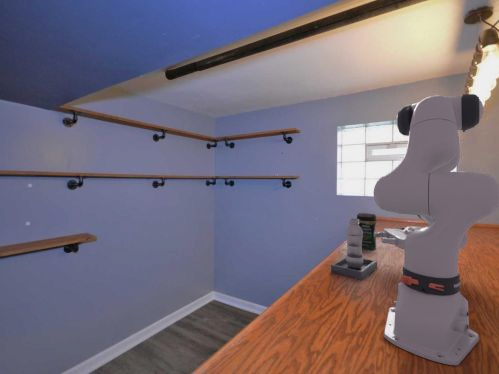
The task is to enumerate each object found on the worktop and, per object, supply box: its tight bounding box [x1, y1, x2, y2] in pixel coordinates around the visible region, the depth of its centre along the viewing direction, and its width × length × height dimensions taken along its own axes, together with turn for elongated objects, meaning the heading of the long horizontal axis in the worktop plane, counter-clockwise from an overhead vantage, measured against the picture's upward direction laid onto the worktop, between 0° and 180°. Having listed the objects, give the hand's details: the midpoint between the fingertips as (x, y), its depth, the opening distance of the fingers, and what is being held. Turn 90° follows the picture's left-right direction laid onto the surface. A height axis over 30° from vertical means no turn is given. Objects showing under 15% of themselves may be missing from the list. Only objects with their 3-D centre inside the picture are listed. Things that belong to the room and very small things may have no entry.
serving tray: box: [330, 256, 378, 281], centre depth 104 cm, size 17×12×3 cm
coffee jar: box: [356, 212, 378, 250], centre depth 136 cm, size 10×8×19 cm
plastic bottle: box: [345, 218, 364, 269], centre depth 103 cm, size 6×7×20 cm
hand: (378, 237), depth 102 cm, fingers open, 8 cm apart
